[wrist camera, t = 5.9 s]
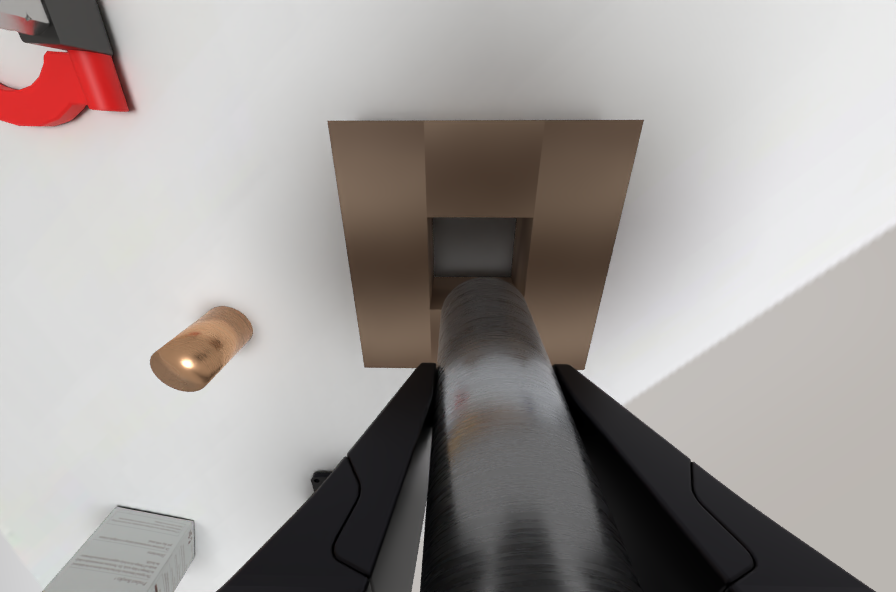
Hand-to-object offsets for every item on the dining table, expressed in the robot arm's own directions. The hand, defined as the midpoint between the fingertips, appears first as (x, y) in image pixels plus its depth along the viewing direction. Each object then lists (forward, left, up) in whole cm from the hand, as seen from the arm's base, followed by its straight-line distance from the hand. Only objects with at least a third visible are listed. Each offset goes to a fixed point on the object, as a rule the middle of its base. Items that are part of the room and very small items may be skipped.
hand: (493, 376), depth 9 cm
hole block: (0, 0, -11) cm, 11 cm away
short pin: (-6, +16, -12) cm, 20 cm away
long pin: (0, 0, -3) cm, 3 cm away
